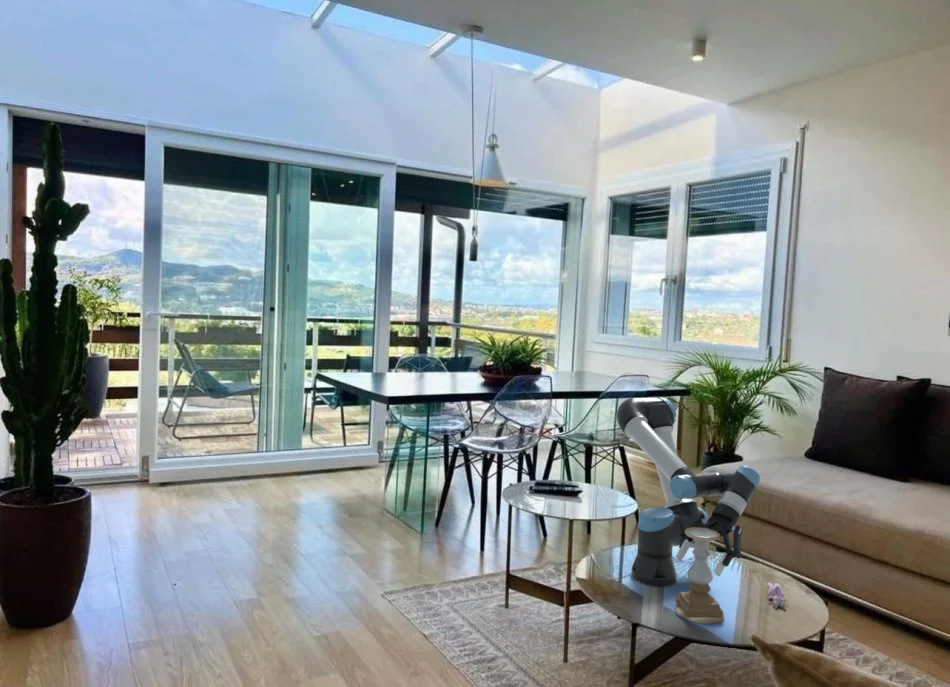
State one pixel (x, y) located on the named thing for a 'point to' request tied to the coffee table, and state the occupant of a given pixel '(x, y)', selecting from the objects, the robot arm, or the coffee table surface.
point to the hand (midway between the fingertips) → (696, 566)
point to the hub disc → (699, 618)
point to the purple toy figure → (776, 595)
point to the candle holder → (700, 578)
